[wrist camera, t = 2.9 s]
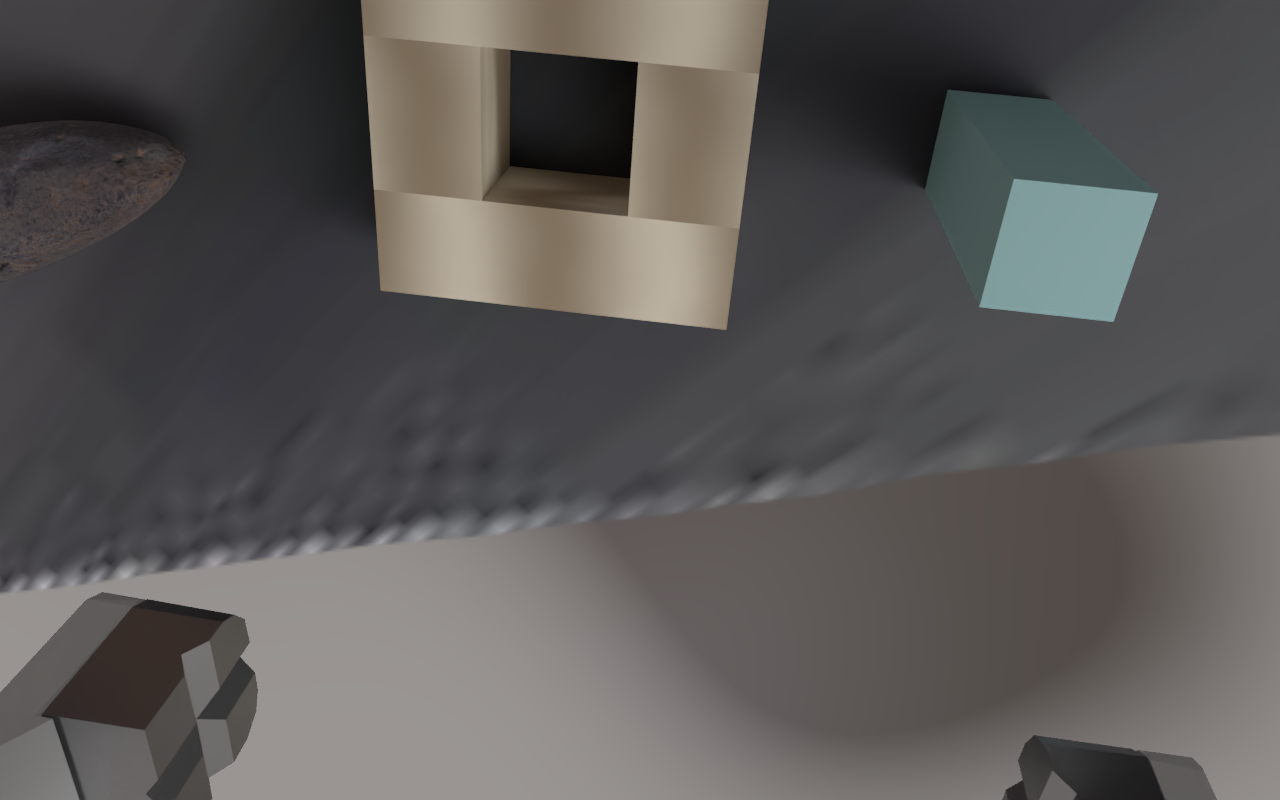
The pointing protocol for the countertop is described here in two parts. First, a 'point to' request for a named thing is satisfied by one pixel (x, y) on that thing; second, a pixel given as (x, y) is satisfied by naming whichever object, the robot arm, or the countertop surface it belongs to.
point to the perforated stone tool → (75, 186)
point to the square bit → (1035, 206)
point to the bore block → (553, 200)
